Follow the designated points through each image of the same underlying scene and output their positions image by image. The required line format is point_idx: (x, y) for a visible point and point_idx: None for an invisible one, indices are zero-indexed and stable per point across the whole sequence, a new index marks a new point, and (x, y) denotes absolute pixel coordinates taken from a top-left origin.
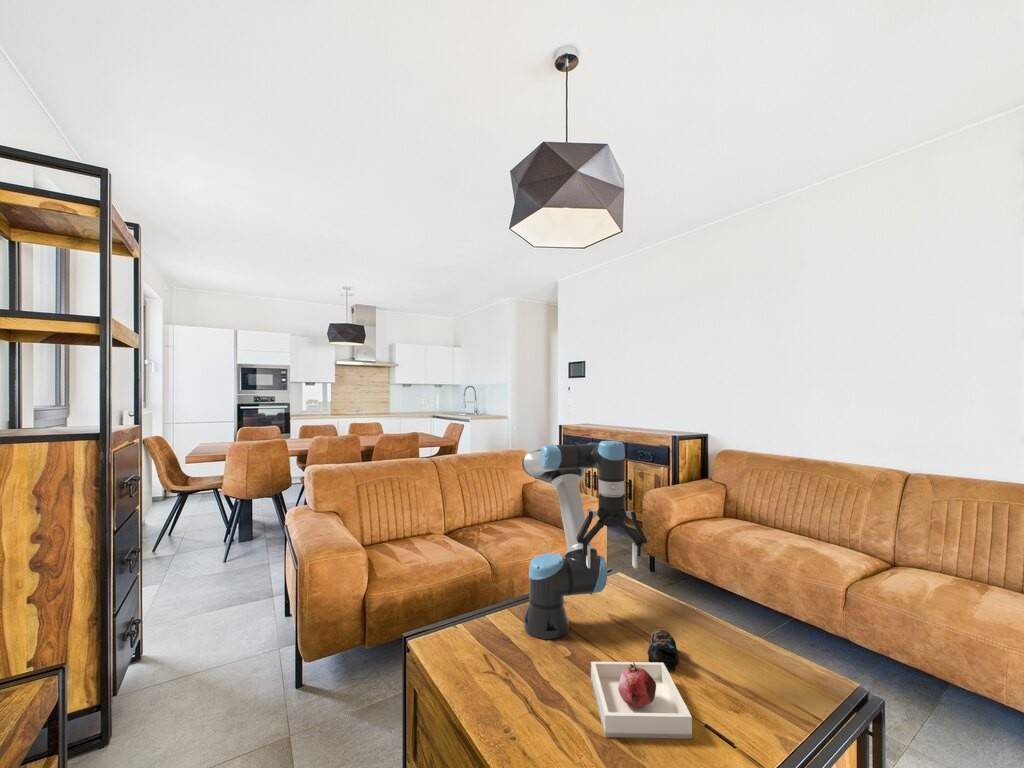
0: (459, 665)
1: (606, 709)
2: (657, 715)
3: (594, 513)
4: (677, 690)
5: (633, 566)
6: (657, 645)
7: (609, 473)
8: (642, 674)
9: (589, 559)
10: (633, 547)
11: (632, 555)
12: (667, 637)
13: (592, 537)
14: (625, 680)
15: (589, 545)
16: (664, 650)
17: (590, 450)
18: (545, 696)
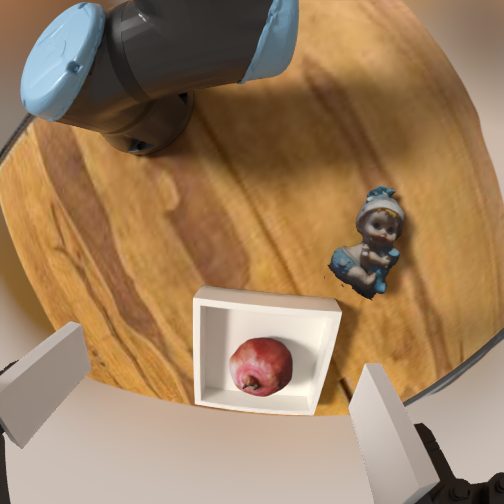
0: (32, 231)
1: (198, 396)
2: (267, 412)
3: None
4: (324, 377)
5: (356, 389)
6: (353, 279)
7: None
8: (266, 392)
9: (63, 394)
10: (390, 490)
11: (382, 414)
12: (391, 243)
13: (4, 491)
14: (235, 384)
15: (16, 443)
16: (360, 291)
17: None
18: (128, 312)
